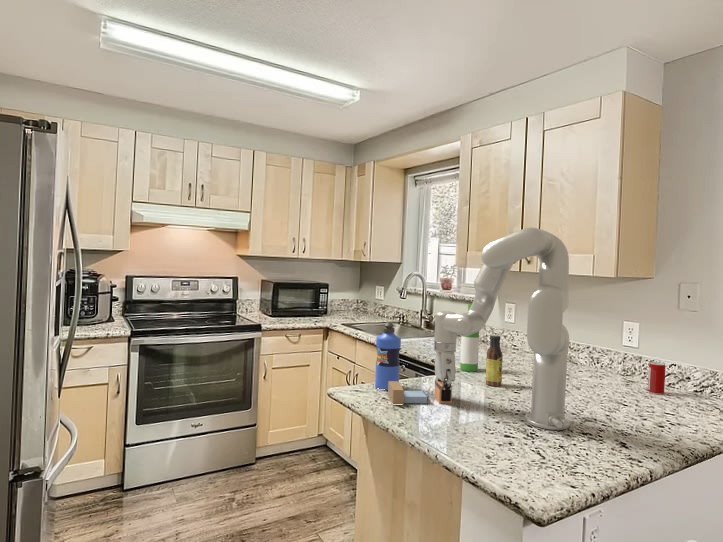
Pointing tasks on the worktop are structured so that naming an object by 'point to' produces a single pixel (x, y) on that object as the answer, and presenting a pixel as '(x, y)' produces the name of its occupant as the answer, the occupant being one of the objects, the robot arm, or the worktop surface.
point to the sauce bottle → (494, 362)
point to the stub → (438, 392)
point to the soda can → (656, 378)
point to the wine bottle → (469, 351)
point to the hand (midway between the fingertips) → (443, 397)
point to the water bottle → (387, 357)
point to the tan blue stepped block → (405, 394)
